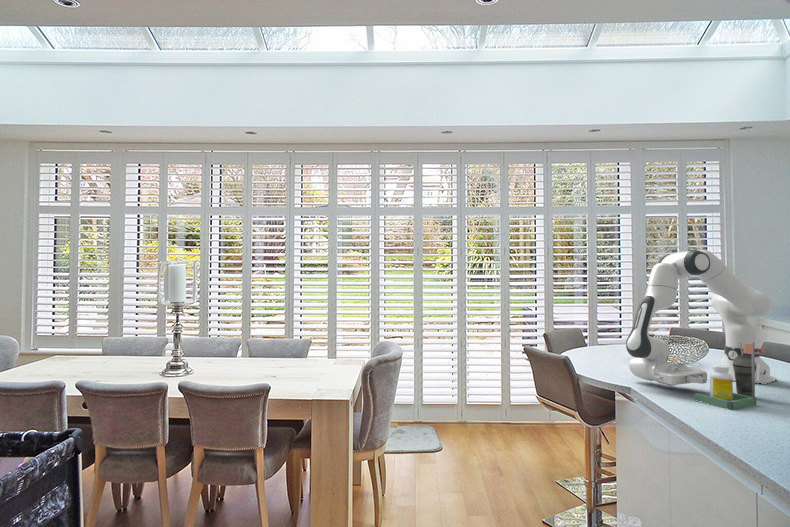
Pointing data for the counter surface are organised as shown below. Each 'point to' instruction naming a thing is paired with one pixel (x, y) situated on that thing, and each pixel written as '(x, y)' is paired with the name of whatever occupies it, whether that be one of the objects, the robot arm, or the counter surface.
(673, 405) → the counter surface
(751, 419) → the counter surface
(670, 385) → the robot arm
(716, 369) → the supplement bottle
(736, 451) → the counter surface
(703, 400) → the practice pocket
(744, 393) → the beverage cup
